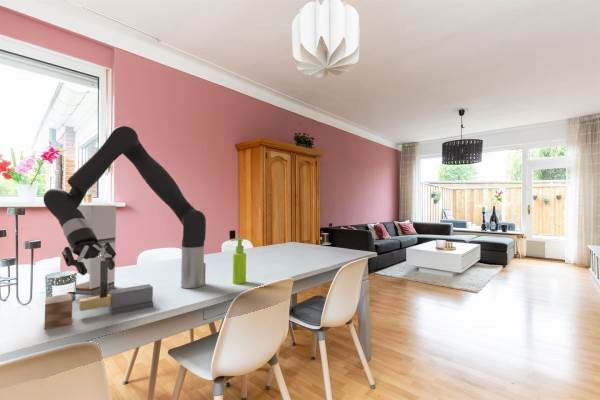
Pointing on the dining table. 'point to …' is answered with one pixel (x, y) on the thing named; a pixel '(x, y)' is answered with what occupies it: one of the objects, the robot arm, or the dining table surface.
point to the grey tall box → (105, 231)
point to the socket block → (58, 311)
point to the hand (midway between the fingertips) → (99, 270)
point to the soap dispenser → (239, 263)
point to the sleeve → (131, 299)
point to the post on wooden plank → (104, 297)
